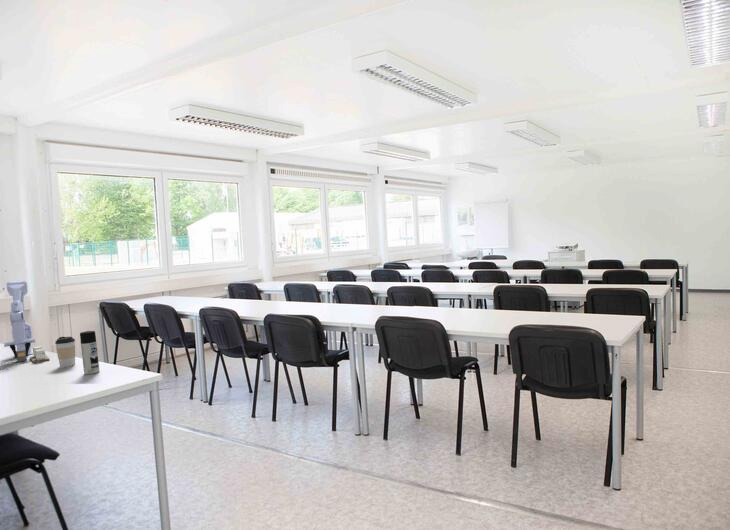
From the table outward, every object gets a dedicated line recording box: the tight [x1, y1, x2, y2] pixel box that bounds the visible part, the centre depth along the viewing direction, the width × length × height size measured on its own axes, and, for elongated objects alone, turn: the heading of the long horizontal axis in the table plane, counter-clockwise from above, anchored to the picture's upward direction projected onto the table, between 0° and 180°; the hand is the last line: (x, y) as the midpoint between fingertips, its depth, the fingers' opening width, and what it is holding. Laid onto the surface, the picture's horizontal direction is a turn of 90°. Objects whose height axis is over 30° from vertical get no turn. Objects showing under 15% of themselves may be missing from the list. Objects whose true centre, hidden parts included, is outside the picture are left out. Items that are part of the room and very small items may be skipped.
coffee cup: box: [54, 336, 76, 368], centre depth 276 cm, size 9×9×15 cm
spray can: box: [79, 330, 100, 375], centre depth 255 cm, size 7×7×20 cm
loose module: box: [16, 349, 28, 362], centre depth 297 cm, size 5×4×6 cm
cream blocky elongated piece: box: [29, 345, 50, 364], centre depth 298 cm, size 17×8×6 cm, turn 37°
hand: (21, 357), depth 298 cm, fingers closed on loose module, 4 cm apart
